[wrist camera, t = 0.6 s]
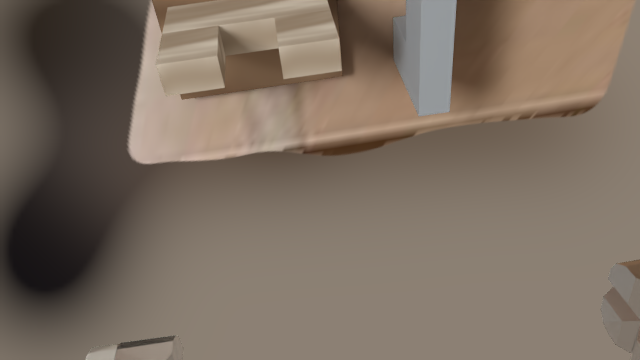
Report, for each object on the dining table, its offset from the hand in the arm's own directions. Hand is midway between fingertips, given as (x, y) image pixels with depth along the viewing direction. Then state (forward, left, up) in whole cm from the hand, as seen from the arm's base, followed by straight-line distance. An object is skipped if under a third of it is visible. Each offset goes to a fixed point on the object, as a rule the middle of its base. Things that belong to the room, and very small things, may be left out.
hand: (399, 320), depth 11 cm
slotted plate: (+10, +9, -38) cm, 41 cm away
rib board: (+9, -4, -38) cm, 40 cm away
